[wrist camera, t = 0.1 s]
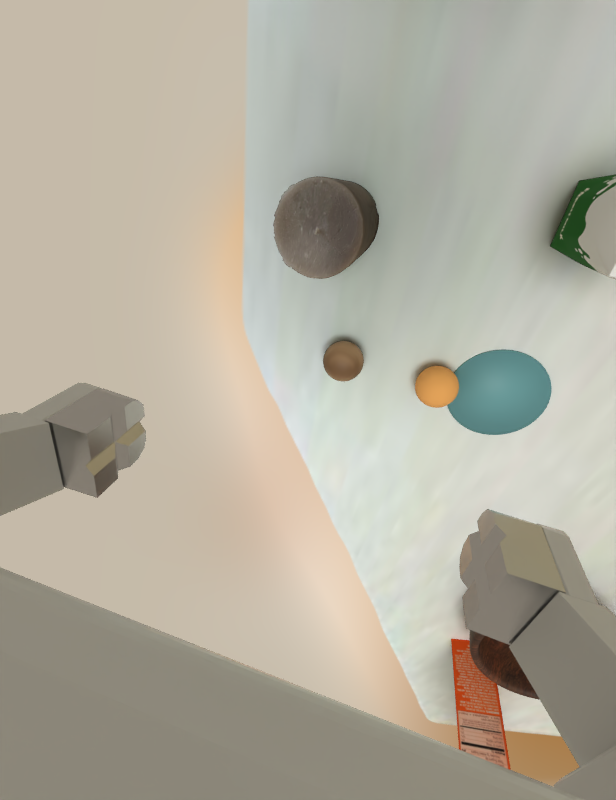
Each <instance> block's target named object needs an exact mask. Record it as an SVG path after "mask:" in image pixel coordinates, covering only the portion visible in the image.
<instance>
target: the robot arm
mask: <svg viewBox="0 0 616 800" xmlns="http://www.w3.org/2000/svg"><path fill="white" fill-rule="evenodd" d="M143 417H144V407H143V404H142V403H141V402H140V401H138V400H136V399H132V398H129V397H127V396H124V395H121V394H118V393H115V392H112V391H109V390H105V389H101V388H99V387H96V386H93V385H90V384H87V383H78V384H75V385H74V386H72V387H70V388H68V389H66V390H65V391H63V392H61V393H59V394H57V395H56V396H54V397H52V398H50V399H48V400H46V401H45V402H43V403H41V404H39V405H37V406H36V407H34V408H32V409H30V410H28V411H27V412H25V413H23V414H21V413H17V412H14V413H8V414H4V415H0V516H1V515H3V514H6V513H8V512H11V511H13V510H15V509H18V508H20V507H22V506H25V505H27V504H29V503H32V502H34V501H36V500H39V499H41V498H43V497H46V496H48V495H51V494H53V493H55V492H57V491H60V490H62V489H64V487H66V488H69V489H72V490H75V491H78V492H81V493H85V494H87V495H91V496H94V497H98V496H99V495H101V494H102V493H103V492H104V491H105V490H106V489H107V488H108V487H109V486H110V485H111V484H112V483H113V482H115V481H116V480H117V479H118V470H121V469H124V468H127V467H130V466H131V465H132V464H133V463H134V462H135V461H136V460H137V459H138V458H139V456H140V454H141V453H142V451H143V449H144V446H145V441H146V431H145V429H144V428H143V427H142V425H141V423H140V422H139V421H140V420H141V419H142V418H143ZM477 522H478V528H479V531H478V532H475V533H473V534H470V535H469V536H468V538H467V540H466V541H465V543H464V545H463V548H462V552H461V556H460V578H461V579H462V581H463V582H464V584H465V585H466V586H467V588H468V590H467V591H466V593H465V594H464V596H463V606H464V615H465V623H466V628H467V629H469V630H472V631H475V632H477V633H480V634H482V635H485V636H488V637H490V638H493V639H495V640H498V641H501V642H503V643H506V644H508V645H510V646H509V648H510V650H511V651H512V653H513V655H514V656H515V658H516V660H517V661H518V663H519V665H520V667H521V668H522V670H523V672H524V673H525V675H526V677H527V678H528V680H529V682H530V683H531V685H532V687H533V689H534V690H535V692H536V694H537V695H538V697H539V699H540V700H541V702H542V704H543V706H544V707H545V709H546V711H547V712H548V714H549V716H550V717H551V719H552V721H553V722H554V724H555V726H556V728H557V729H558V731H559V733H560V734H561V736H562V738H563V739H564V741H565V743H566V744H567V746H568V748H569V749H570V751H571V753H572V755H573V756H574V758H575V760H576V761H577V763H578V765H579V766H580V767H579V768H577V769H576V770H575V771H573V772H571V773H569V774H568V775H566V776H565V777H563V778H561V779H560V780H559V781H558V782H557V783H556V784H555V785H554V787H552V786H550V785H547V784H545V783H542V782H540V781H537V780H535V779H532V778H529V777H527V776H524V775H522V774H519V773H517V772H514V771H512V770H509V769H507V768H504V767H502V766H499V765H497V764H494V763H492V762H489V761H487V760H484V759H482V758H479V757H476V756H474V755H471V754H469V753H466V752H464V751H461V750H459V749H456V748H454V747H451V746H448V745H446V744H444V743H441V742H439V741H436V740H434V739H431V738H429V737H426V736H424V735H421V734H418V733H416V732H413V731H411V730H408V729H406V728H403V727H401V726H398V725H396V724H393V723H391V722H388V721H386V720H383V719H380V718H378V717H376V716H373V715H370V714H368V713H366V712H363V711H360V710H358V709H356V708H353V707H350V706H348V705H346V704H343V703H341V702H338V701H335V700H333V699H330V698H328V697H325V696H323V695H320V694H318V693H315V692H313V691H310V690H308V689H305V688H303V687H300V686H298V685H295V684H293V683H290V682H288V681H285V680H283V679H280V678H278V677H275V676H272V675H270V674H267V673H265V672H263V671H260V670H258V669H255V668H252V667H250V666H248V665H245V664H243V663H240V662H237V661H235V660H232V659H230V658H227V657H225V656H222V655H220V654H217V653H215V652H212V651H210V650H207V649H205V648H202V647H199V646H197V645H195V644H192V643H189V642H187V641H184V640H182V639H179V638H177V637H174V636H172V635H169V634H166V633H164V632H161V631H159V630H157V629H154V628H151V627H149V626H146V625H144V624H141V623H139V622H136V621H134V620H131V619H129V618H126V617H124V616H121V615H119V614H116V613H113V612H111V611H108V610H106V609H104V608H101V607H99V606H96V605H94V604H91V603H89V602H86V601H83V600H81V599H78V598H76V597H73V596H71V595H68V594H66V593H63V592H61V591H58V590H56V589H53V588H51V587H48V586H46V585H43V584H41V583H38V582H35V581H33V580H30V579H28V578H25V577H23V576H20V575H18V574H15V573H13V572H10V571H8V570H5V569H3V568H0V800H616V616H615V615H614V614H613V613H612V612H611V611H610V610H609V609H608V608H607V607H604V606H601V605H599V604H598V602H597V600H596V598H595V595H594V593H593V591H592V588H591V586H590V584H589V582H588V579H587V577H586V575H585V572H584V570H583V568H582V566H581V563H580V561H579V559H578V557H577V554H576V552H575V550H574V547H573V545H572V543H571V541H570V538H569V537H568V535H567V534H566V533H565V532H564V531H561V530H558V529H554V528H551V527H547V526H544V525H540V524H534V523H531V522H528V521H525V520H521V519H518V518H515V517H512V516H508V515H505V514H502V513H499V512H495V511H492V510H489V509H487V510H486V511H485V512H483V513H482V515H481V516H480V518H479V519H478V521H477Z"/></svg>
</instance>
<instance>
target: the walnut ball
mask: <svg viewBox="0 0 616 800" xmlns="http://www.w3.org/2000/svg"><path fill="white" fill-rule="evenodd" d="M363 363H364V359H363V354H362V352H361V350H360V349H359V347H358V346H356V345H355V344H354V343H352V342H349V341H339V342H336V343H334V344H332V345H331V346H330V347H329V348H328V349H327V350H326V352H325V354H324V359H323V364H324V368H325V370H326V372H327V374H328V375H329V376H330V377H332V378H333V379H335V380H338V381H349V380H351V379H353V378H355V377H356V376H357V375H358V374H359V373H360V372H361V370H362V367H363Z"/></svg>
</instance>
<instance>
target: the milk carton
mask: <svg viewBox="0 0 616 800" xmlns="http://www.w3.org/2000/svg"><path fill="white" fill-rule="evenodd" d="M550 247H552V248H554V249H556V250H558V251H559V252H561V253H563V254H564V255H566V256H568V257H569V258H571V259H573V260H575V261H576V262H578V263H580V264H582V265H584V266H586V267H588V268H591V269H593V270H595V271H597V272H599V273H602V274H604V275H606V276H608V277H611V278H614V279H616V175H610V176H604V177H599V178H593V179H587V180H581V181H579V182H578V185H577V187H576V189H575V191H574V194H573V196H572V198H571V200H570V203H569V205H568V207H567V209H566V212H565V214H564V216H563V218H562V221H561V223H560V225H559V227H558V230H557V232H556V234H555V236H554V239H553V241H552V243H551V246H550Z"/></svg>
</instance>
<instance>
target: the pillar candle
mask: <svg viewBox="0 0 616 800" xmlns="http://www.w3.org/2000/svg"><path fill="white" fill-rule="evenodd" d="M274 216H275V220H274V224H273V226H274V234H275V237H274V238H275V241H276V244H277V247H278V250H279V252H280V254H281V256H282V257H283V261H284V262H285V264H286V265H287V266H289V267H292V269H294V270H295V271H297V272H298V273H300V274H302V275H304V276H307V277H310V278H319V279H322V278H328V277H332V276H334V275H336V274H338V273H340V272H342V271H343V270H345V269H346V268H347V267H349V266H350V265H351V264H352V263H353V262H354V261H355V260H356V259H358V258H359V257H360V256H361V255H362V254H363V253H364V252H365V251H366V250H367V249H368V248H369V246H370V245H371V243H372V242H373V240H374V238H375V236H376V233H377V229H378V224H379V215H378V213H377V209H376V204H375V201H374V199H373V198H372V196H371V195H370V193H369V192H368V191H367V190H366V189H364V188H363V187H362V186H360V185H358V184H356V183H354V182H350V181H344V180H339V179H333V178H327V177H311V178H307V179H304V180H302V181H300V182H298V183H296V184H294V185H291V186H290V187H289V188H288V190H287V191H286V192H284V194H283V195H282V197H281V200H280V201H279V205H278V208H277V210H276V212H275V215H274Z"/></svg>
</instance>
